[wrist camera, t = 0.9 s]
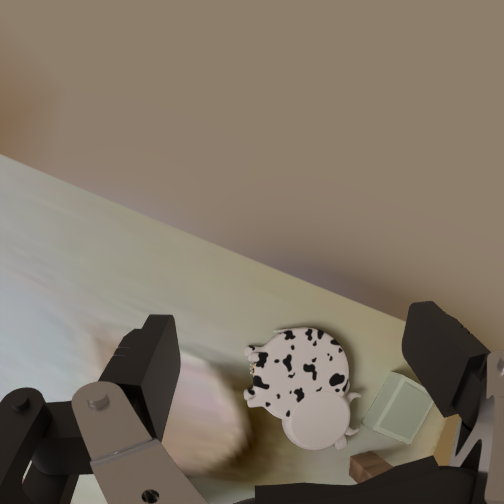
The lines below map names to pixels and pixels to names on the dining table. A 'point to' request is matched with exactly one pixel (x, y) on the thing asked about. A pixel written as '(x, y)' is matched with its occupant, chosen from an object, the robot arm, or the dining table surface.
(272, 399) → the toy
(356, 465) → the block
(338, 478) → the dining table surface
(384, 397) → the stand
